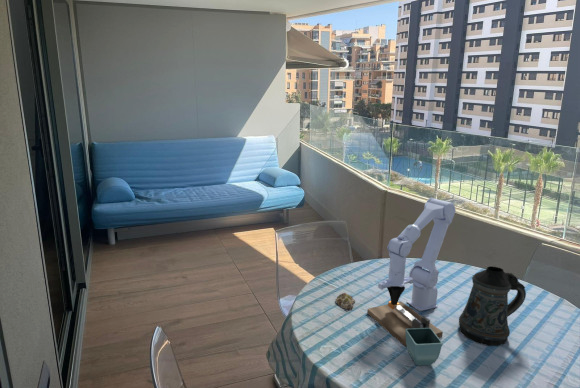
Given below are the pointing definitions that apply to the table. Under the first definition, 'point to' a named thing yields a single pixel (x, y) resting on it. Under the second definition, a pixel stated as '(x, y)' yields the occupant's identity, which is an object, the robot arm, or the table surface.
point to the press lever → (403, 312)
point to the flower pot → (423, 345)
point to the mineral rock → (345, 301)
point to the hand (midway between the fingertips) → (394, 302)
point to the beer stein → (490, 306)
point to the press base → (399, 321)
